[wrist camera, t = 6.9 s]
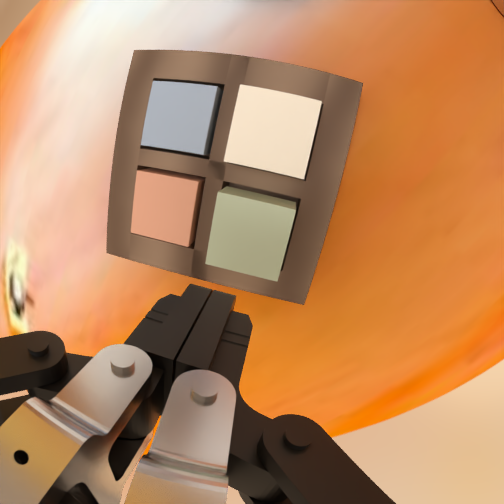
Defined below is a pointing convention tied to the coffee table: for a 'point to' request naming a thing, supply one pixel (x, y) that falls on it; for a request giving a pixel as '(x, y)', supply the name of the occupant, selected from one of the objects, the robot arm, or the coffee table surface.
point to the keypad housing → (232, 164)
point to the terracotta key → (167, 205)
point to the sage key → (250, 232)
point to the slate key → (182, 116)
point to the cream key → (272, 130)
